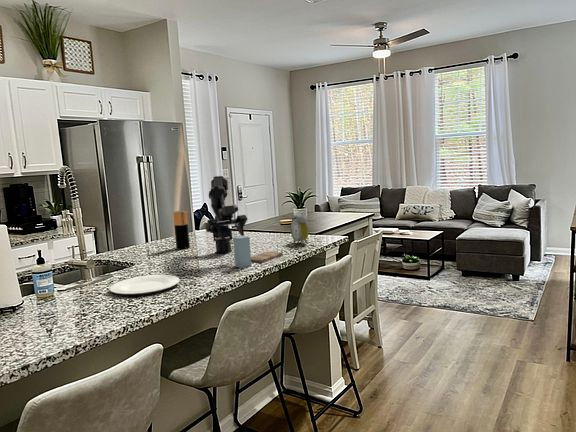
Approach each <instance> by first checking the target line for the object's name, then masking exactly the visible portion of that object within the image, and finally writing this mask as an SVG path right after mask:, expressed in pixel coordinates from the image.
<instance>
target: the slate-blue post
mask: <svg viewBox="0 0 576 432" xmlns="http://www.w3.org/2000/svg"><path fill="white" fill-rule="evenodd" d="M232 240H233V242H232V243H233V251H234V252H233V253H234V254H233V255H234V266H235V267H237V268H240V269H243V268H248V267H251V266H252V262H251V257H252V255H251V242H250V236H248V235H244V236H241V235H239V236H232Z"/></svg>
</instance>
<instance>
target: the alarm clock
mask: <svg viewBox="0 0 576 432" xmlns="http://www.w3.org/2000/svg"><path fill="white" fill-rule="evenodd" d="M289 228H290V233H291V237H292V239H293V243H295V242H300V244H301V246H303V245H304V242H305V243H308V241H307V239H308V238H309V231H310V230H309V225H308V222H307V218H306V216H305V215H303V214H301V215H300V214H298V213H297V214H296V213H295V214H293V215H292V216H291V223H290V227H289Z"/></svg>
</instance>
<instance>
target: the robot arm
mask: <svg viewBox="0 0 576 432" xmlns="http://www.w3.org/2000/svg"><path fill="white" fill-rule="evenodd" d="M228 191H229V182H228V180H227V179H226V178H224V176H222V175H215V176H213V179H212V180H211V181H210V190H209V191H208V198H209V199H210V203H211V204H210V207H211V209H212V211H213V214H214V215H215V216H214V218H208V219H207V221H206V225H205V226H204V227H205V230H206V232H207V233H210V234H212V236H213V242H215V250H216V251H214V254H228V253H231V252H232V251H233V250H232V244H231V242H230V241H231V240H233V231H232V229H231V227H229V226H231V225H235V227H236V230H237V232H238V233H239V236H245V231H244V227H245V225H246V224H247V221H248V217H247V214H241V215H240V214H239V215H237V216H236V218H235V219H232V218H234V214H236V213H237V212H238V211H239V206H238V205H237V204H236V203H234V204H231V205H225V200H226V198H227V196H228Z"/></svg>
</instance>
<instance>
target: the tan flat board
mask: <svg viewBox="0 0 576 432" xmlns="http://www.w3.org/2000/svg"><path fill="white" fill-rule="evenodd" d="M282 256H283V252H279V251H277V252H276V251H263V252H261V253H259V254H256V255H251V263H259V264H264V263H267V262H269V261H272V260H274V259H277V258H279V257H282Z"/></svg>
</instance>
